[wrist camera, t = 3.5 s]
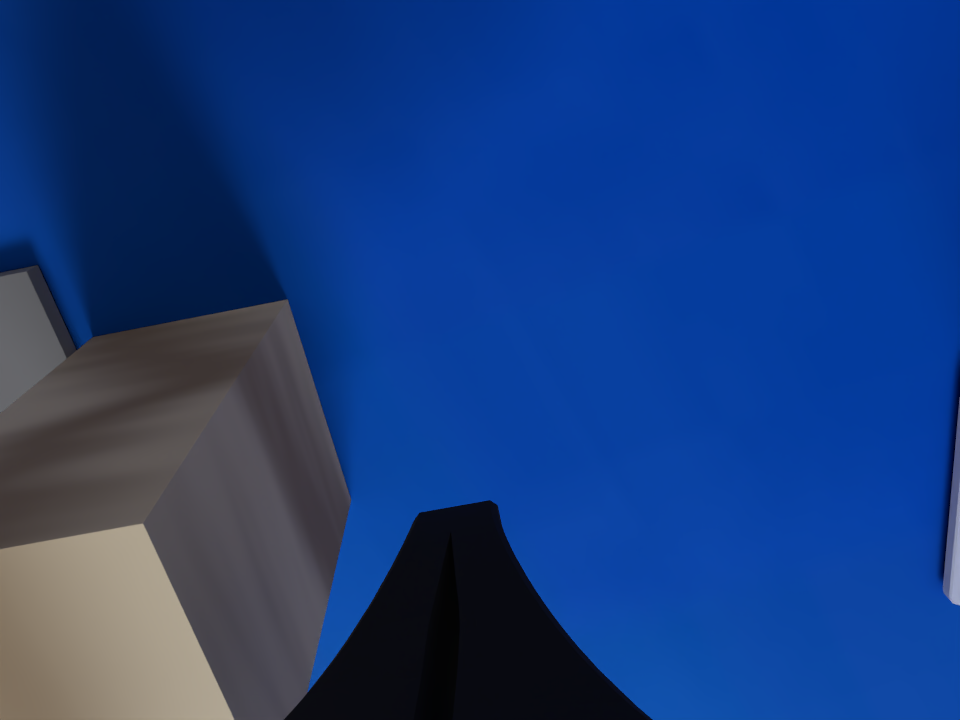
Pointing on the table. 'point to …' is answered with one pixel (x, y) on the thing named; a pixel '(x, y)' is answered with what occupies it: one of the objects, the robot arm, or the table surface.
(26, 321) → the mat
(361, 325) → the table surface
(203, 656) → the maple block
